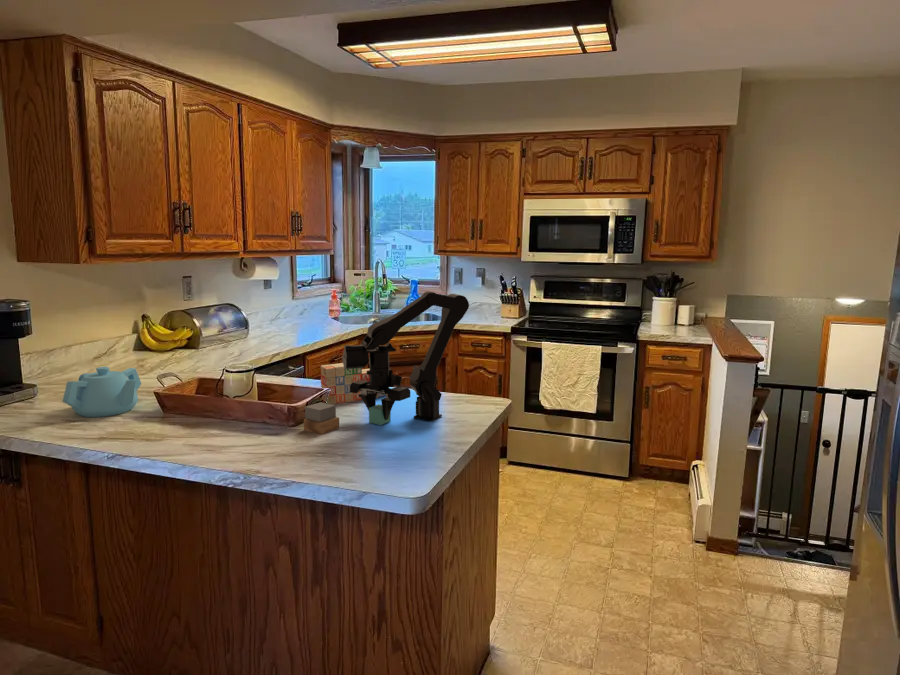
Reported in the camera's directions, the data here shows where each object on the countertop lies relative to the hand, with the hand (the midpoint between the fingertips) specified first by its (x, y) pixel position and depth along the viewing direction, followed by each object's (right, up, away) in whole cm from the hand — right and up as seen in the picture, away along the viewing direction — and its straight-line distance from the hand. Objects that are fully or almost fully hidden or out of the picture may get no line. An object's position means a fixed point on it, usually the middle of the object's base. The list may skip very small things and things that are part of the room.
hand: (379, 418), depth 173 cm
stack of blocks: (-12, +3, +27) cm, 29 cm away
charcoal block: (-16, +1, -7) cm, 17 cm away
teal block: (0, -1, 0) cm, 1 cm away
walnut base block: (-16, -3, -6) cm, 17 cm away
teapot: (-86, +1, +10) cm, 87 cm away
